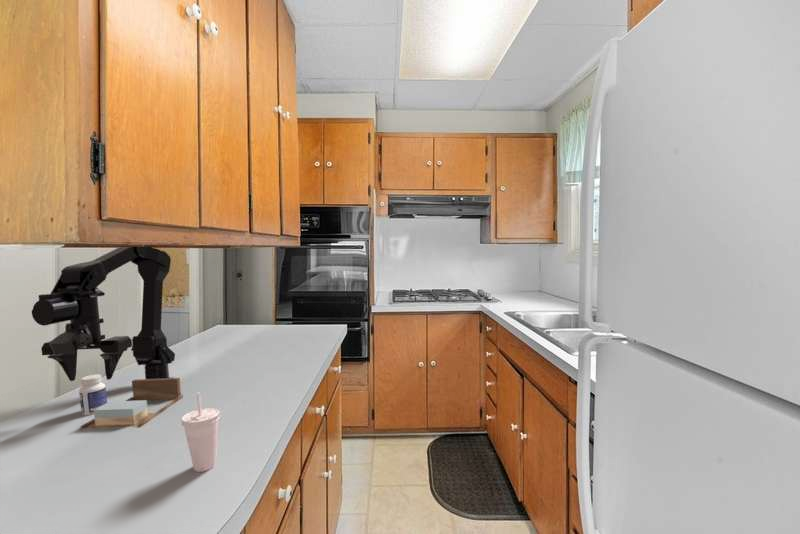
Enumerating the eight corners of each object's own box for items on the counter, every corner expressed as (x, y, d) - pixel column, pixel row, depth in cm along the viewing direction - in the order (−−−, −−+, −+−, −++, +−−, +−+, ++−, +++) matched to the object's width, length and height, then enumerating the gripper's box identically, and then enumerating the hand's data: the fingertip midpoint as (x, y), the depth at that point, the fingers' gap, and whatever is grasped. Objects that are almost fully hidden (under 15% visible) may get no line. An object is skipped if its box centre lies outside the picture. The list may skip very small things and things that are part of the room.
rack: (133, 401, 113) (131, 379, 112) (184, 400, 112) (182, 377, 112) (81, 432, 95) (78, 406, 95) (141, 430, 94) (139, 404, 94)
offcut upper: (110, 408, 101) (109, 401, 101) (147, 407, 101) (146, 400, 100) (94, 417, 96) (93, 410, 96) (133, 416, 96) (132, 408, 95)
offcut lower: (111, 416, 101) (110, 408, 101) (148, 415, 101) (147, 407, 101) (95, 425, 96) (94, 417, 96) (134, 424, 96) (133, 416, 96)
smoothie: (181, 478, 74) (174, 400, 73) (189, 460, 80) (183, 388, 79) (221, 471, 76) (215, 395, 75) (225, 454, 82) (220, 383, 81)
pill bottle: (112, 407, 108) (109, 372, 107) (98, 415, 103) (95, 379, 102) (91, 408, 108) (87, 374, 107) (76, 417, 103) (72, 381, 102)
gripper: (16, 325, 96) (24, 393, 97) (97, 322, 95) (104, 390, 96) (58, 316, 107) (64, 377, 108) (130, 313, 106) (136, 374, 107)
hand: (90, 379), depth 104 cm, fingers open, 9 cm apart
